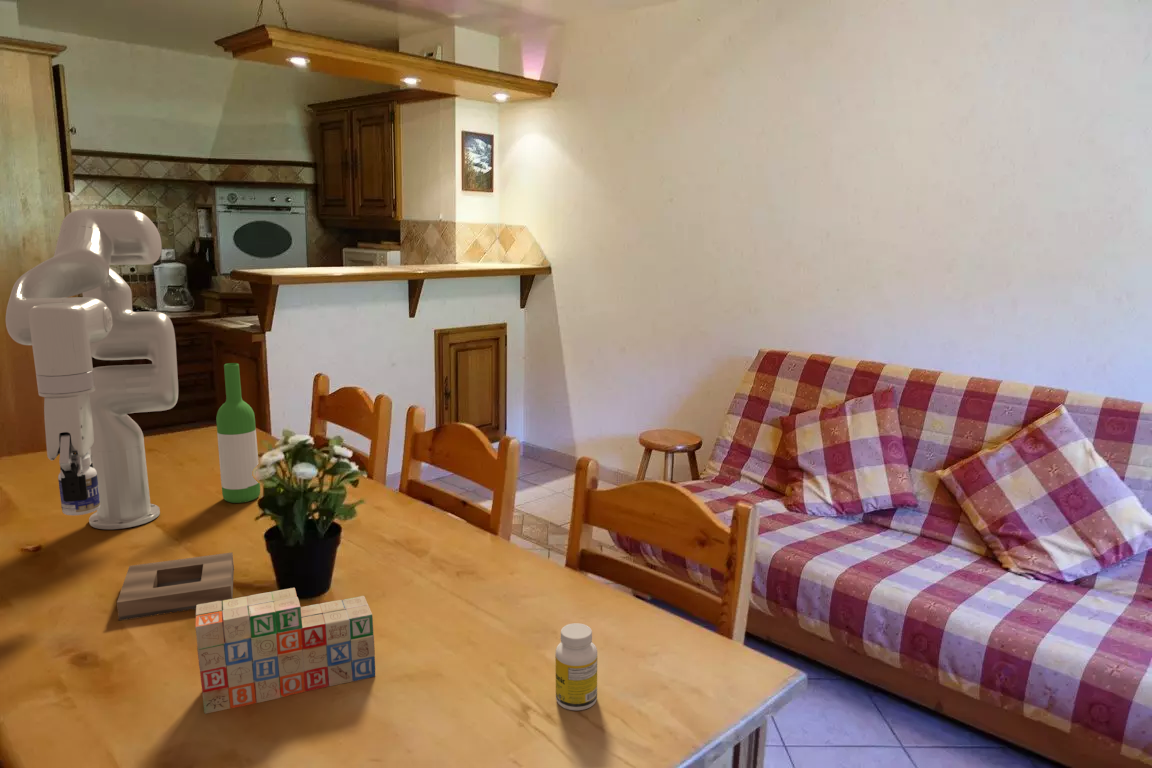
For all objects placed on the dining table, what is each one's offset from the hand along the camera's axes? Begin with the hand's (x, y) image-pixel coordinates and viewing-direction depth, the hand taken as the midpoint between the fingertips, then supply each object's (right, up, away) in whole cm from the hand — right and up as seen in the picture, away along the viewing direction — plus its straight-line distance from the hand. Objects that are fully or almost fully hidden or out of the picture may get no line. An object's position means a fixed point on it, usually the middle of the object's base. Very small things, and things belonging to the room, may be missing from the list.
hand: (79, 492), depth 129 cm
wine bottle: (+6, -8, +48) cm, 49 cm away
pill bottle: (0, -3, +1) cm, 3 cm away
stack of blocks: (+41, -23, -21) cm, 52 cm away
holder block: (+14, -17, +4) cm, 22 cm away
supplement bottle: (+79, -24, -24) cm, 86 cm away
